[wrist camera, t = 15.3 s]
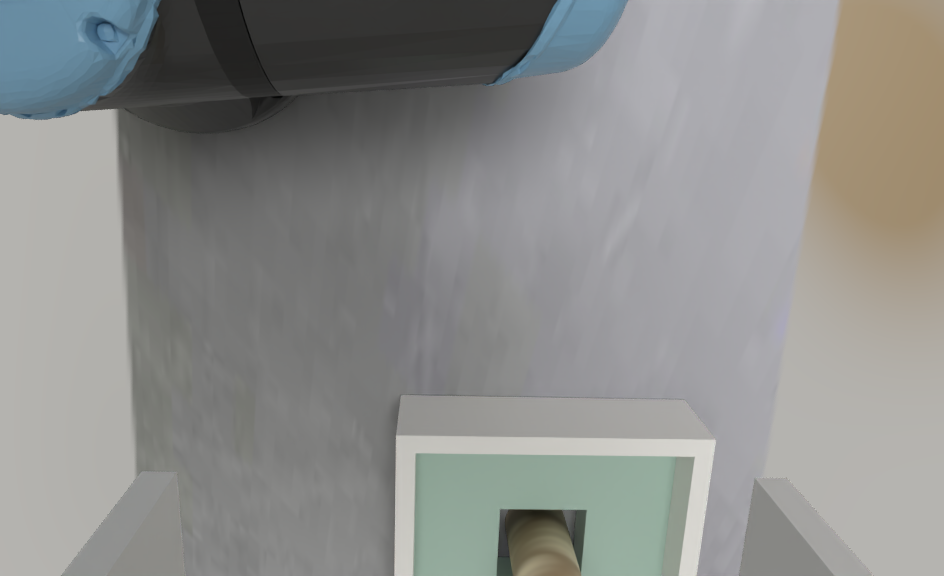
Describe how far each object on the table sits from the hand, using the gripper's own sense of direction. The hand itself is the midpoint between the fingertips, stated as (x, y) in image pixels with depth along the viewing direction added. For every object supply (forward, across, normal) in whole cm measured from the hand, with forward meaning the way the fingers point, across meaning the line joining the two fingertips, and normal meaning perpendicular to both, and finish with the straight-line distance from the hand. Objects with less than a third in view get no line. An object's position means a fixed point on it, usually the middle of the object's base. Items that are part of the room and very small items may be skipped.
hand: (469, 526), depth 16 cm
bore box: (+32, +7, -21) cm, 39 cm away
